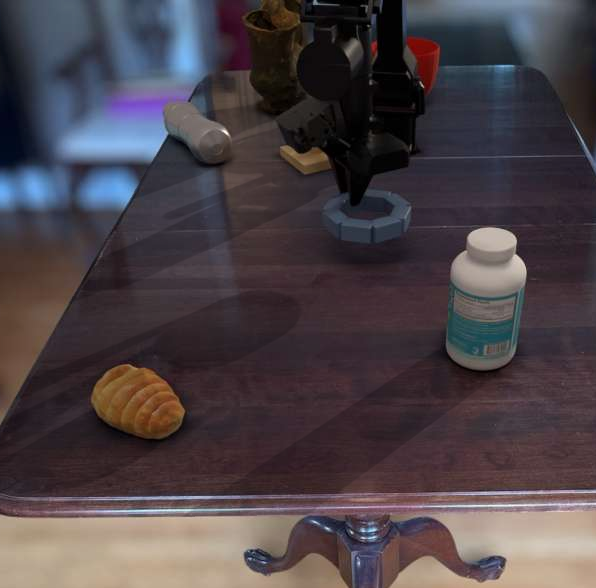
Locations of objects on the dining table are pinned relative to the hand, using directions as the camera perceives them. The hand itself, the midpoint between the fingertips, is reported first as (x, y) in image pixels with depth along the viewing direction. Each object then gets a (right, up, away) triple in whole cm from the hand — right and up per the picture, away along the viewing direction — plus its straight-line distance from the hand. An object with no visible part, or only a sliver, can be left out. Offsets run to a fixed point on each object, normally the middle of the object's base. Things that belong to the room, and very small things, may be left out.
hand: (350, 201), depth 91 cm
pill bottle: (+14, -20, -14) cm, 29 cm away
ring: (+2, -3, -2) cm, 4 cm away
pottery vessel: (-14, +32, +46) cm, 58 cm away
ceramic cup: (+7, +32, +46) cm, 57 cm away
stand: (-6, +14, +25) cm, 30 cm away
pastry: (-20, -27, -21) cm, 39 cm away
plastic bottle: (-22, +14, +21) cm, 33 cm away
